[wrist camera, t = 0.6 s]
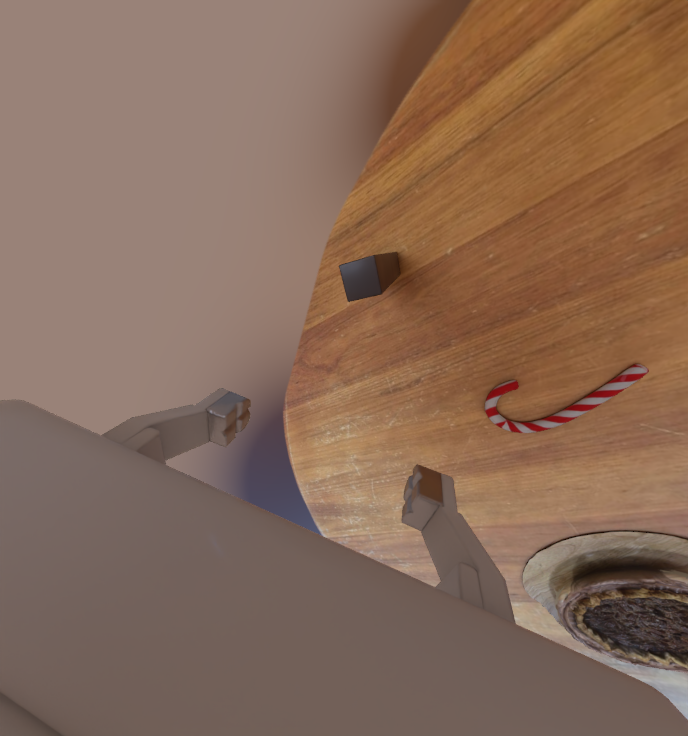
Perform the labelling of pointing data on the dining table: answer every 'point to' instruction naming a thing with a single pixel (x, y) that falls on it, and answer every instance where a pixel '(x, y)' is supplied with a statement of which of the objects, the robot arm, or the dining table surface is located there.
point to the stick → (369, 275)
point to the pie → (618, 594)
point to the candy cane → (567, 414)
